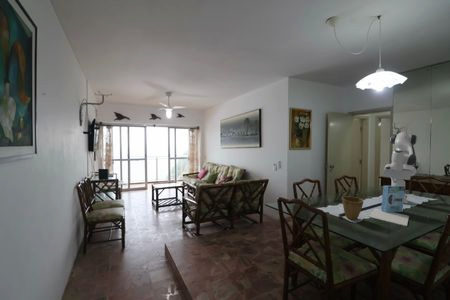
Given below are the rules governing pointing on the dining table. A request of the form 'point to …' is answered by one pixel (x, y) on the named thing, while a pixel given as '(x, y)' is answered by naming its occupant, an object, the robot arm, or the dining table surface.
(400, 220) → the white flat board
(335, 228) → the dining table surface
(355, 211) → the plant pot
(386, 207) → the gum box
